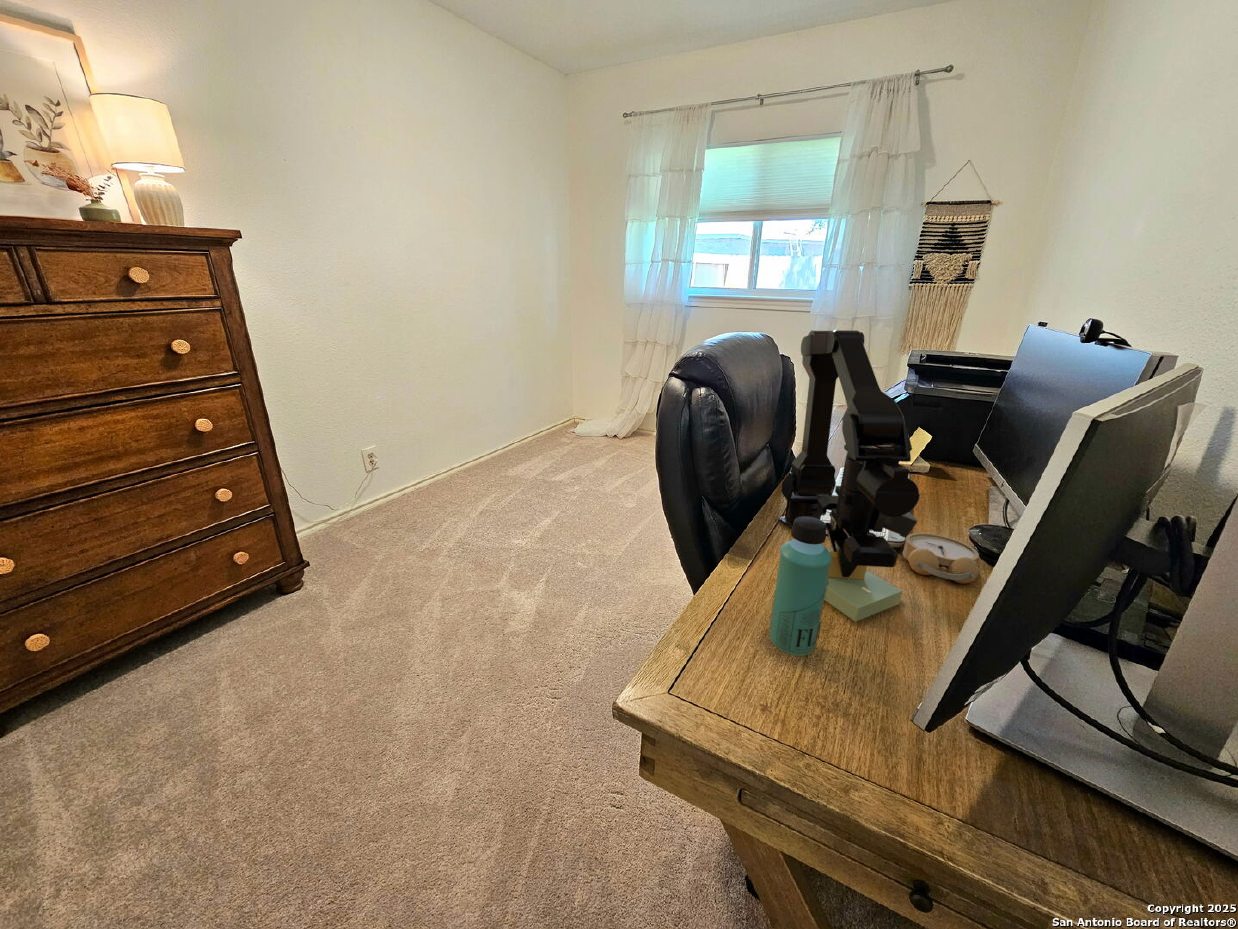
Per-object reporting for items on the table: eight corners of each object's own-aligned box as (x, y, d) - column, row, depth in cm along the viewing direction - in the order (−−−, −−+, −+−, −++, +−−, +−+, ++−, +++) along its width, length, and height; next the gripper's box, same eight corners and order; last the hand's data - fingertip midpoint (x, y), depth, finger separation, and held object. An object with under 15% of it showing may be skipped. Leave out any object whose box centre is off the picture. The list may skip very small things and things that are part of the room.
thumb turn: (826, 577, 79) (830, 555, 78) (823, 571, 81) (827, 549, 79) (864, 579, 79) (869, 557, 77) (860, 574, 80) (865, 551, 79)
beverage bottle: (791, 672, 63) (813, 539, 56) (756, 641, 69) (772, 516, 62) (826, 656, 66) (851, 527, 59) (789, 627, 72) (808, 506, 65)
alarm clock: (972, 540, 90) (991, 568, 77) (966, 565, 91) (984, 596, 78) (904, 527, 94) (911, 551, 81) (898, 551, 96) (905, 578, 82)
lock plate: (787, 574, 85) (789, 561, 84) (829, 560, 89) (831, 548, 88) (854, 622, 73) (858, 607, 72) (899, 604, 77) (903, 590, 76)
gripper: (948, 517, 65) (922, 613, 70) (890, 467, 82) (872, 547, 88) (862, 513, 66) (842, 607, 71) (822, 464, 83) (809, 543, 89)
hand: (843, 573), depth 80 cm, fingers closed on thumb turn, 2 cm apart
